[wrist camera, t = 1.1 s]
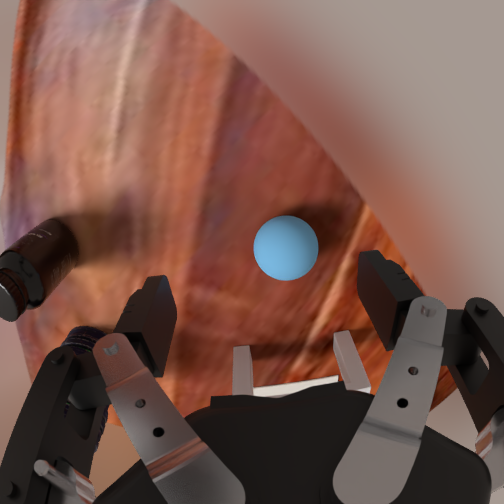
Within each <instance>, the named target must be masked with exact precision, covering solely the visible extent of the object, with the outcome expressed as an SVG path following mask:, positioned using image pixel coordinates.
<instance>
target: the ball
mask: <svg viewBox="0 0 504 504" xmlns="http://www.w3.org/2000/svg"><path fill="white" fill-rule="evenodd" d="M254 255H255V259H256V261H257V263H258V265H259V267H260V268H261V269H262V270H263V271H264V272H265V273H266V274H267V275H269V276H271V277H273V278H275V279H278V280H294V279H297V278H299V277H302V276H303V275H305V274H306V273H307V272H308V271H309V270H310V269H311V268H312V267H313V265H314V264H315V261H316V259H317V256H318V240H317V237H316V235H315V232H314V231H313V229H312V228H311V227H310V226H309V225H308V224H307V223H306V222H305V221H303V220H302V219H300V218H297V217H294V216H278V217H275V218H273V219H270V220H269V221H267V222H266V223H265V224H264V225H263V226H262V227H261V228H260V229H259V231H258V233H257V235H256V237H255V241H254Z"/></svg>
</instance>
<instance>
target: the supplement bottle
mask: <svg viewBox="0 0 504 504" xmlns="http://www.w3.org/2000/svg"><path fill="white" fill-rule="evenodd" d="M78 255H79V251H78V245H77V241H76V239H75V237H74V235H73V233H72V232H71V231H70V229H69V228H68V227H67V226H65V225H64V224H62V223H61V222H59V221H55V220H47V221H44V222H42V223H41V224H39V225H38V226H36V227H35V228H33V229H32V230H31V231H29V232H28V233H27V234H25V235H24V236H23V237H21V238H20V239H19V240H17V241H16V242H15V243H14V244H12V245H11V246H10V247H9V248H7V249H6V250H5V251H4V252H3V253H2V254H1V255H0V317H1V318H3V319H4V320H6V321H9V322H10V321H11V322H13V321H16V320H17V319H18V318H19V317H20V315H21V314H23V313H24V312H25V311H26V310H33V309H36V308H38V307H40V306H41V305H42V304H43V303H44V302H45V300H46V299H47V298H48V297H49V295H50V294H51V293H52V292H53V291H54V290H55V288H56V287H57V286H58V285H59V284H60V283H61V281H62V280H63V279H64V278H65V277H66V276H67V275H68V273H69V272H70V271H71V270H72V269H73V268H74V266H75V265H76V263H77V260H78Z"/></svg>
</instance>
